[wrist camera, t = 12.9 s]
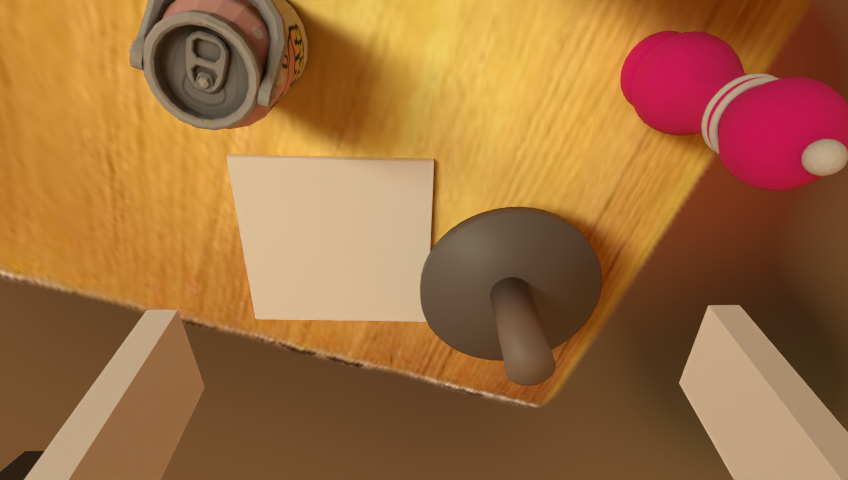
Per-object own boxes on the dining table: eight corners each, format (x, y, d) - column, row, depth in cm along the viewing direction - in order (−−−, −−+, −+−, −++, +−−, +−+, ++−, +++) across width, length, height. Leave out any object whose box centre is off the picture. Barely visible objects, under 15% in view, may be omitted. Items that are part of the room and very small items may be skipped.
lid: (422, 204, 41) (424, 276, 32) (615, 208, 41) (669, 280, 32) (417, 351, 49) (418, 439, 40) (579, 352, 49) (614, 440, 41)
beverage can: (209, -52, 36) (125, -51, 25) (324, -12, 37) (289, 4, 27) (198, 74, 40) (123, 119, 30) (301, 106, 42) (264, 159, 31)
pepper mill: (697, 7, 38) (929, 57, 21) (709, 94, 42) (917, 199, 24) (604, 47, 40) (750, 125, 22) (623, 128, 43) (762, 251, 26)
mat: (228, 154, 44) (226, 156, 43) (433, 159, 44) (434, 161, 44) (257, 315, 53) (255, 319, 52) (426, 317, 53) (427, 321, 53)
